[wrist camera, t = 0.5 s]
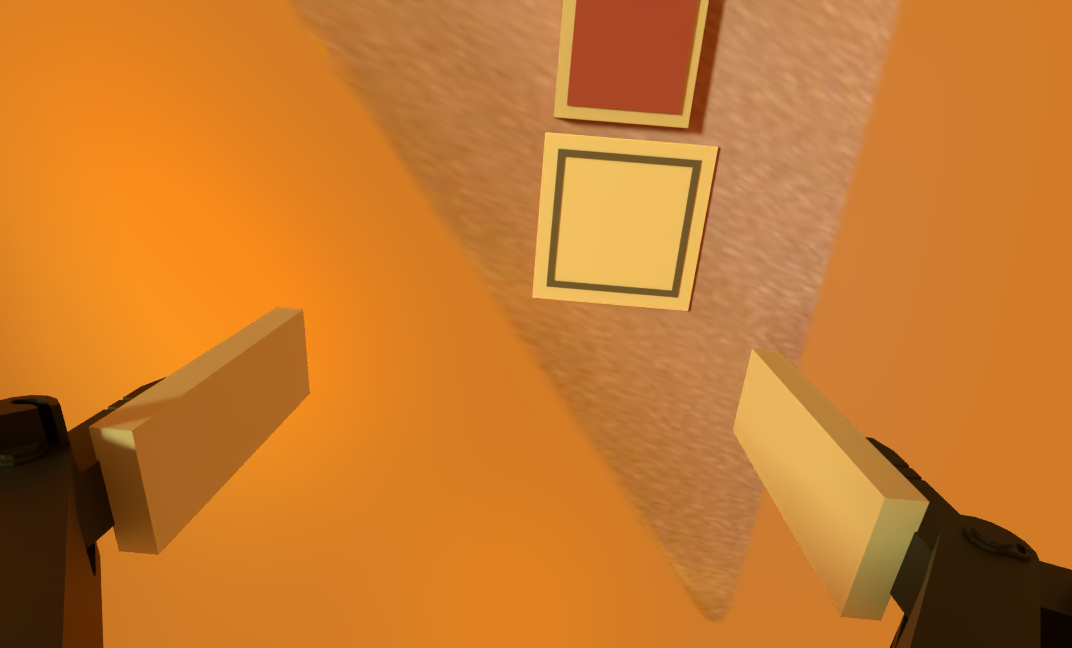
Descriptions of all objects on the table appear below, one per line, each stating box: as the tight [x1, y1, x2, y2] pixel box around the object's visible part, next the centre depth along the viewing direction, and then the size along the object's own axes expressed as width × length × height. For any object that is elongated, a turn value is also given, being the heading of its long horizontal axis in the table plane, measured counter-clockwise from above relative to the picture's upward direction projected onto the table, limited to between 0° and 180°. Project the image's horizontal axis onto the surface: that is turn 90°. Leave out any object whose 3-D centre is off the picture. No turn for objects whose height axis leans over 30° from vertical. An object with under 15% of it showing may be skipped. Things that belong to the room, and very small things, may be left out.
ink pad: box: [554, 0, 709, 128], centre depth 34 cm, size 10×9×2 cm
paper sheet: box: [532, 132, 718, 311], centre depth 39 cm, size 12×12×1 cm
